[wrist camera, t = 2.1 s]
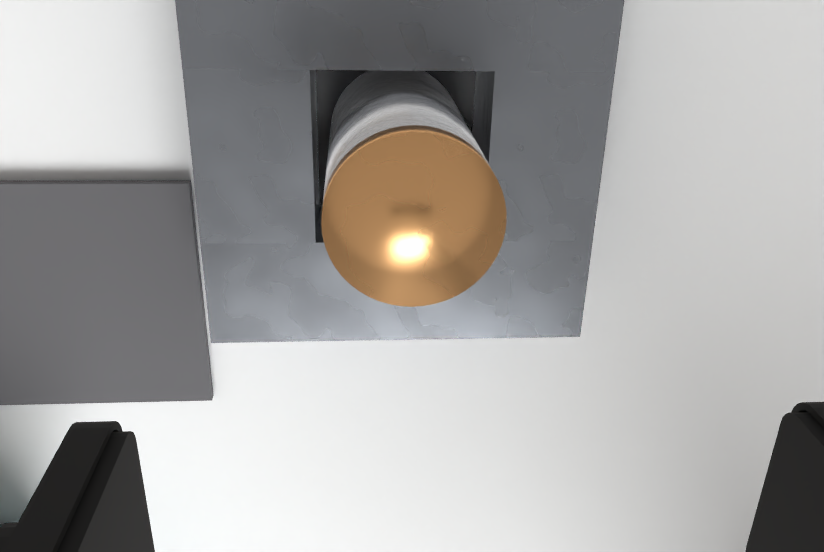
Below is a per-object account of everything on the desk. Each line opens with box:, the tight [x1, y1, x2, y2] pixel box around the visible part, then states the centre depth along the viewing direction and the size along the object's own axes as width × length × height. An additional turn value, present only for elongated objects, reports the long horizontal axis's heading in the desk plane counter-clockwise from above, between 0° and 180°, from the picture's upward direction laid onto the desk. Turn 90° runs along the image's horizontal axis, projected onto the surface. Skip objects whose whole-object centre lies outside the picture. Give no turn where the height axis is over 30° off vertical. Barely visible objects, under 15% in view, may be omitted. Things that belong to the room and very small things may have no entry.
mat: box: [0, 181, 213, 405], centre depth 31 cm, size 10×10×1 cm
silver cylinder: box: [321, 70, 507, 307], centre depth 25 cm, size 5×5×10 cm
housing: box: [175, 0, 624, 343], centre depth 28 cm, size 14×14×4 cm
